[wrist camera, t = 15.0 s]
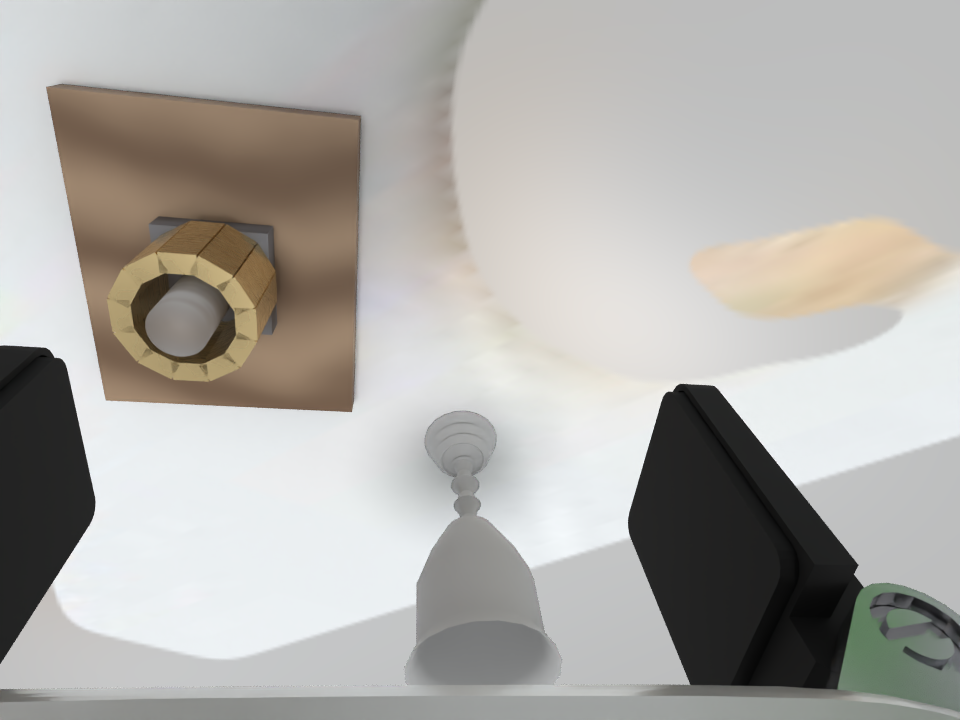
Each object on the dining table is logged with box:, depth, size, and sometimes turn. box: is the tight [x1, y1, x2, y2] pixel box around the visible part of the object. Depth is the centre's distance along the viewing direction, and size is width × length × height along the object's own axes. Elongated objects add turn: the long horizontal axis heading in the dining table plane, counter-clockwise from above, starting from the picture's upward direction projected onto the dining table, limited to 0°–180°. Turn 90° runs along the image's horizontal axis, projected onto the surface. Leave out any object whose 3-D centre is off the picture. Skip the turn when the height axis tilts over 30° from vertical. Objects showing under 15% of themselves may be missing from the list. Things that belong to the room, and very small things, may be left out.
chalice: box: [405, 411, 562, 685], centre depth 37 cm, size 7×7×18 cm
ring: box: [107, 221, 277, 382], centre depth 33 cm, size 7×7×5 cm
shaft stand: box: [46, 84, 361, 412], centre depth 34 cm, size 18×15×9 cm
